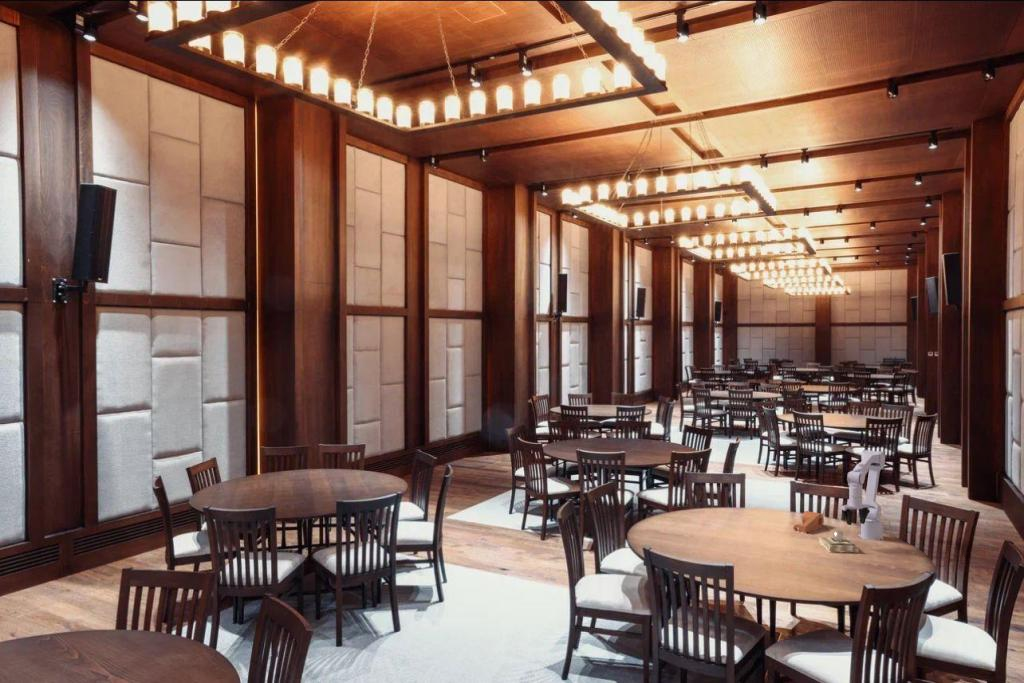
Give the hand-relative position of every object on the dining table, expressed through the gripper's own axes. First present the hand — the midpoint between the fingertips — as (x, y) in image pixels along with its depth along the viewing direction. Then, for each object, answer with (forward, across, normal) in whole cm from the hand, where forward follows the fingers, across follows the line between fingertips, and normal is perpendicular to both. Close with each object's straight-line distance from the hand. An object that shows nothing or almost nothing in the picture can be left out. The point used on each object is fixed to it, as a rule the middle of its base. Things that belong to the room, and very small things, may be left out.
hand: (855, 524), depth 335 cm
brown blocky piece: (+11, +4, -31) cm, 33 cm away
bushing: (+10, +9, -1) cm, 14 cm away
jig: (+10, +11, +1) cm, 15 cm away
